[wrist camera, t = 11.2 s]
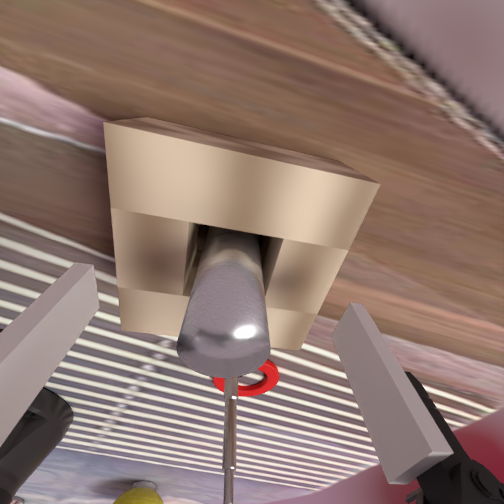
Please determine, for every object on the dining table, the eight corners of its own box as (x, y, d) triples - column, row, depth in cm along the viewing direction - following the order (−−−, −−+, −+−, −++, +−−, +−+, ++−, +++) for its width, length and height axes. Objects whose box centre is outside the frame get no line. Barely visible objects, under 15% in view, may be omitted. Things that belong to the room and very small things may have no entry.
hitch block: (148, 280, 23) (121, 330, 18) (147, 117, 16) (103, 121, 11) (287, 300, 25) (299, 350, 20) (341, 162, 18) (380, 184, 13)
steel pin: (207, 244, 21) (174, 373, 11) (213, 202, 19) (179, 311, 9) (251, 252, 22) (258, 381, 12) (261, 211, 20) (281, 324, 10)
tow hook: (286, 378, 33) (261, 341, 28) (309, 516, 22) (275, 493, 18) (231, 393, 35) (198, 360, 30) (228, 528, 24) (176, 511, 19)
